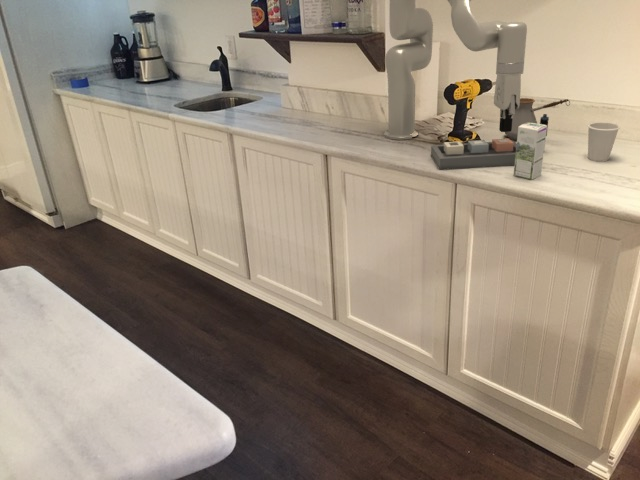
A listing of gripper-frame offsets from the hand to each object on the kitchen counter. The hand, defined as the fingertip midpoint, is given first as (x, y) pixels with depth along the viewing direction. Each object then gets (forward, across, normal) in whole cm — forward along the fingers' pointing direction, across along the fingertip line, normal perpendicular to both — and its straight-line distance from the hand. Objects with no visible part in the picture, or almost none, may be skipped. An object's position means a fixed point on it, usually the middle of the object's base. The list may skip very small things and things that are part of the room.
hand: (505, 131), depth 163 cm
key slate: (+6, 0, -8) cm, 10 cm away
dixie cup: (+10, +4, +27) cm, 29 cm away
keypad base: (+9, 0, -8) cm, 12 cm away
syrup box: (+9, +16, +2) cm, 18 cm away
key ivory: (+5, 0, -15) cm, 16 cm away
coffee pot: (+9, -18, +16) cm, 26 cm away
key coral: (+6, 0, 0) cm, 6 cm away
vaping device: (+9, -6, +12) cm, 16 cm away
